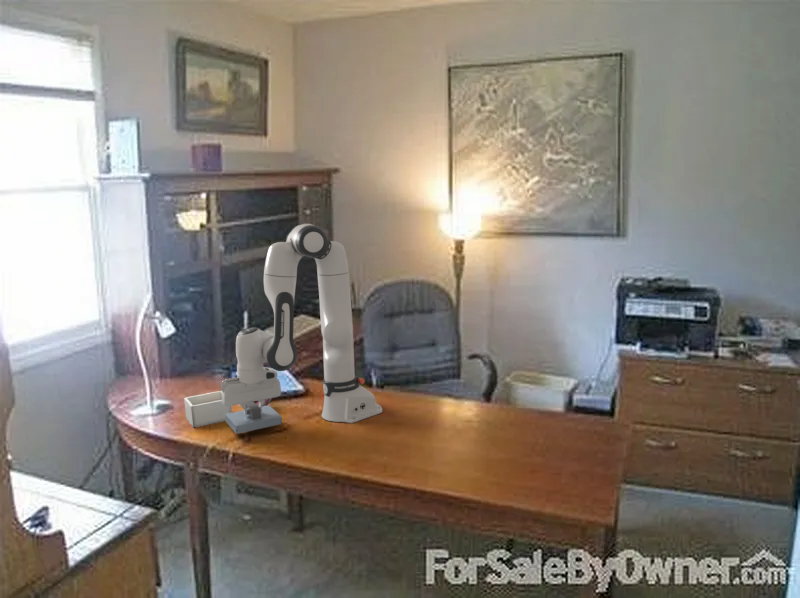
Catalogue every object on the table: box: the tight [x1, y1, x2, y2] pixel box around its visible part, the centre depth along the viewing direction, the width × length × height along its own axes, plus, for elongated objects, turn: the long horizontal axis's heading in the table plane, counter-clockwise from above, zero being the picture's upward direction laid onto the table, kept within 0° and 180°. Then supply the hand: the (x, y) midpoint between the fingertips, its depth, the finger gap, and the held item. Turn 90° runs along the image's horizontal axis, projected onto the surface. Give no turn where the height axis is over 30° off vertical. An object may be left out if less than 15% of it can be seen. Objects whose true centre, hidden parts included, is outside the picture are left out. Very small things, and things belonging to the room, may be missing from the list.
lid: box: [224, 401, 283, 435], centre depth 222 cm, size 16×13×6 cm
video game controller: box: [255, 398, 273, 406], centre depth 241 cm, size 10×5×7 cm, turn 170°
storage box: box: [183, 390, 233, 429], centre depth 233 cm, size 14×11×8 cm
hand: (252, 412), depth 222 cm, fingers closed on lid, 3 cm apart
